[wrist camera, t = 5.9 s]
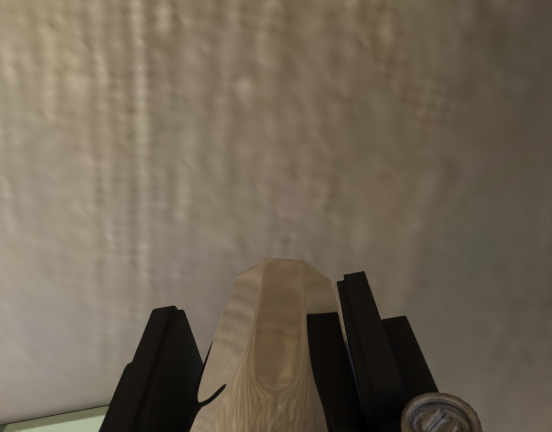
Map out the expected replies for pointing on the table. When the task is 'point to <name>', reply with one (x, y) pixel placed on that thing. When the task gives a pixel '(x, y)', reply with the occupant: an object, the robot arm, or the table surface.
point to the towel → (62, 422)
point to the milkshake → (277, 358)
